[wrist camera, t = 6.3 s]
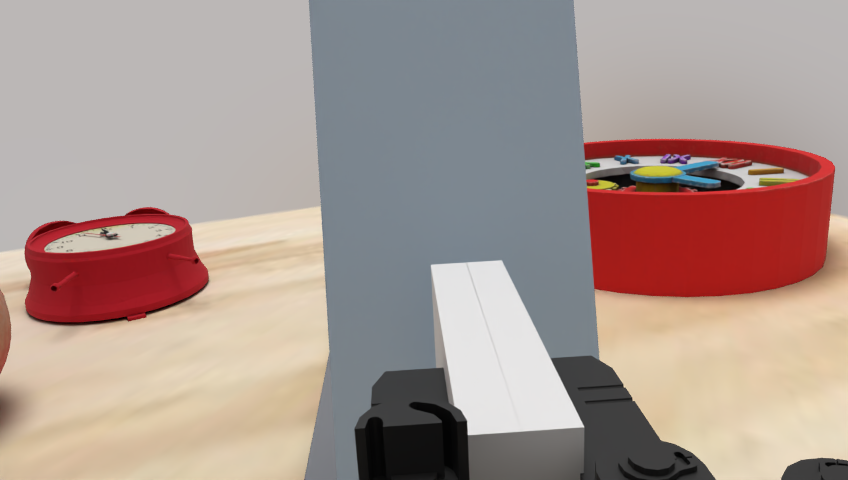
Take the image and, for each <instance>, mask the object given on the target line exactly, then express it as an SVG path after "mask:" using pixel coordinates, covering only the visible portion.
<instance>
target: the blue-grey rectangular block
mask: <svg viewBox="0 0 848 480" xmlns="http://www.w3.org/2000/svg"><path fill="white" fill-rule="evenodd" d="M309 9H310V27H311V44H312V60H313V76H314V77H313V78H314V94H315V112H316V129H317V146H318V163H319V179H320V195H321V196H320V197H321V214H322V231H323V248H324V265H325V282H326V299H327V316H328V333H329V350H330V367H331V384H332V401H333V418H334V435H335V452H336V469H337V480H359V475H358V464H357V453H356V442H355V431H354V428H355V426H356V424H357V422H358V420H359V417H360V416H362V415H363V414H364V413H365V412H367V411H368V410H369V409H370V408H371V395H372V386H373V385H374V384H375V383H376V382H377V380H378V379H379V378H380V377H381V376H382V374H383V373H384V372H385V371H399V370H414V369H429V368H436V358H435V338H434V319H433V300H432V280H431V265H434V264H450V263H466V262H482V261H498V260H502V262H503V264H504V266H505V268H506V270H507V272H508V274H509V276H510V278H511V280H512V282H513V284H514V286H515V288H516V290H517V292H518V294H519V296H520V298H521V300H522V302H523V304H524V306H525V308H526V310H527V312H528V314H529V316H530V318H531V320H532V322H533V324H534V326H535V328H536V330H537V332H538V334H539V337H540V339H541V341H542V343H543V345H544V347H545V349H546V351H547V353H548V355H549V357H550V358H560V357H575V356H590V355H591V356H593V357H595V358H596V359H598V360H599V348H598V335H597V321H596V307H595V293H594V279H593V265H592V251H591V238H590V224H589V210H588V196H587V182H586V168H585V154H584V141H583V127H582V115H581V114H582V113H581V99H580V86H579V71H578V59H577V58H578V57H577V44H576V30H575V17H574V2H573V0H309Z"/></svg>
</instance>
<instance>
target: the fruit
mask: <svg viewBox="0 0 848 480" xmlns="http://www.w3.org/2000/svg"><path fill="white" fill-rule="evenodd" d="M10 340H11V323H10V316H9V311H8V308H7V305H6V301H5V298H4V295H3V293H2V292H1V290H0V373H1V371H2V369H3V366H4V364H5V362H6V359H7V355H8V352H9V348H10Z"/></svg>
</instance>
